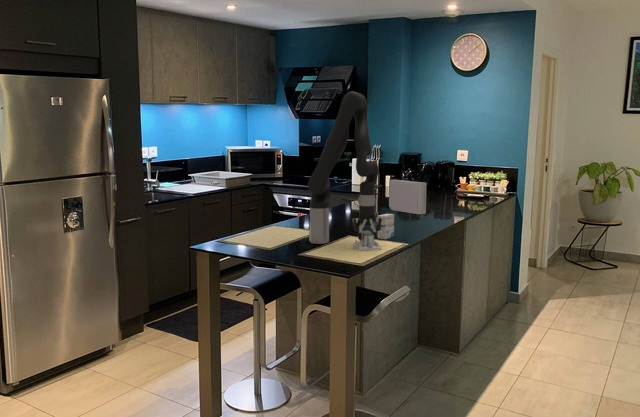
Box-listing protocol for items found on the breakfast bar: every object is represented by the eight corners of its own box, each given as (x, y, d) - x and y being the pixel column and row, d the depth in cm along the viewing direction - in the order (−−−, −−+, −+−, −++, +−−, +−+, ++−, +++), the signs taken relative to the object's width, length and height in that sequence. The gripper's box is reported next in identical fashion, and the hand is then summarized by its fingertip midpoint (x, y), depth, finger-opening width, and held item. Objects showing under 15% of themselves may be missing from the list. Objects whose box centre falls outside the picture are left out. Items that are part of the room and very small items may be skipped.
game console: (419, 214, 361) (420, 183, 358) (388, 209, 382) (389, 180, 379) (425, 213, 364) (426, 182, 361) (394, 208, 385) (395, 179, 382)
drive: (364, 247, 263) (364, 234, 262) (359, 243, 272) (359, 230, 271) (373, 246, 264) (374, 234, 263) (369, 242, 272) (369, 230, 271)
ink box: (386, 235, 295) (386, 213, 293) (394, 236, 291) (394, 214, 290) (377, 238, 288) (377, 215, 286) (385, 239, 285) (385, 216, 283)
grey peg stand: (359, 250, 260) (360, 237, 259) (353, 244, 274) (353, 232, 273) (381, 249, 262) (381, 237, 261) (373, 243, 275) (373, 231, 274)
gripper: (353, 205, 260) (353, 242, 262) (384, 204, 262) (383, 241, 265) (350, 203, 267) (350, 239, 270) (379, 202, 270) (379, 237, 272)
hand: (366, 239), depth 267 cm, fingers open, 5 cm apart
